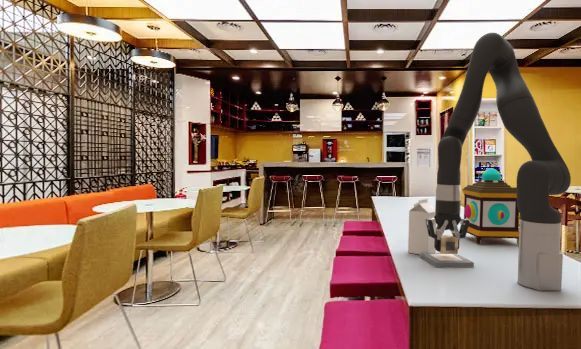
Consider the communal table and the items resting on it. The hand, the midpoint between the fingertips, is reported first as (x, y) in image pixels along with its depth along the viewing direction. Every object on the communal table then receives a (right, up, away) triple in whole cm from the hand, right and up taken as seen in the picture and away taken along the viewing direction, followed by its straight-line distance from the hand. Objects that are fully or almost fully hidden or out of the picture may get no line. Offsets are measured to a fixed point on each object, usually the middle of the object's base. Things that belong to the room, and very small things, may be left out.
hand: (446, 250), depth 124 cm
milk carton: (-4, -3, +12) cm, 13 cm away
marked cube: (0, 0, 0) cm, 0 cm away
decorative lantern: (+32, -3, +34) cm, 47 cm away
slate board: (0, -4, 0) cm, 4 cm away
